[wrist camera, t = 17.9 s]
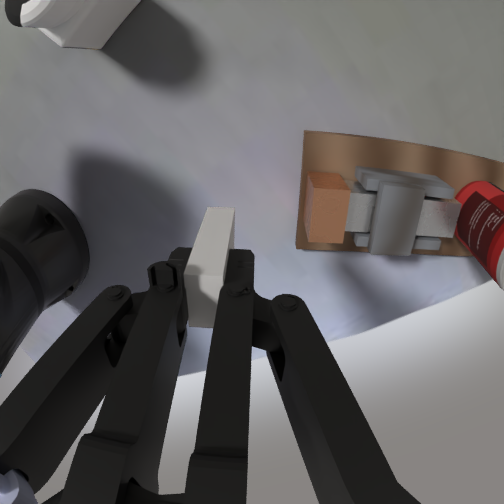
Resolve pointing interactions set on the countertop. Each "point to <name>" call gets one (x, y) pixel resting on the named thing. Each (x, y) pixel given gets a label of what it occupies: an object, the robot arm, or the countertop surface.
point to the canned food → (483, 226)
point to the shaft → (363, 210)
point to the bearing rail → (389, 157)
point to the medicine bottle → (71, 19)
